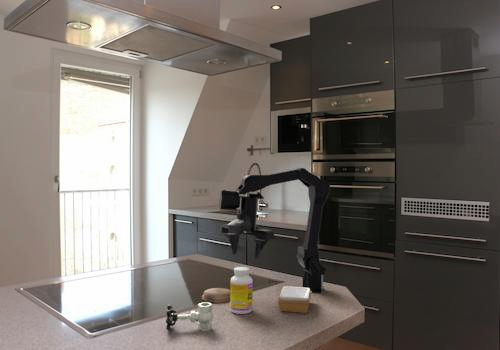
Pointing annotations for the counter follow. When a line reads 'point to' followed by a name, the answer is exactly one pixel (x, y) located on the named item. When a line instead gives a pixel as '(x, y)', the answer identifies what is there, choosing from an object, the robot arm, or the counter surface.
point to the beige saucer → (217, 295)
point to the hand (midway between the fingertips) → (245, 256)
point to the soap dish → (294, 299)
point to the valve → (192, 316)
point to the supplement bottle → (241, 291)
